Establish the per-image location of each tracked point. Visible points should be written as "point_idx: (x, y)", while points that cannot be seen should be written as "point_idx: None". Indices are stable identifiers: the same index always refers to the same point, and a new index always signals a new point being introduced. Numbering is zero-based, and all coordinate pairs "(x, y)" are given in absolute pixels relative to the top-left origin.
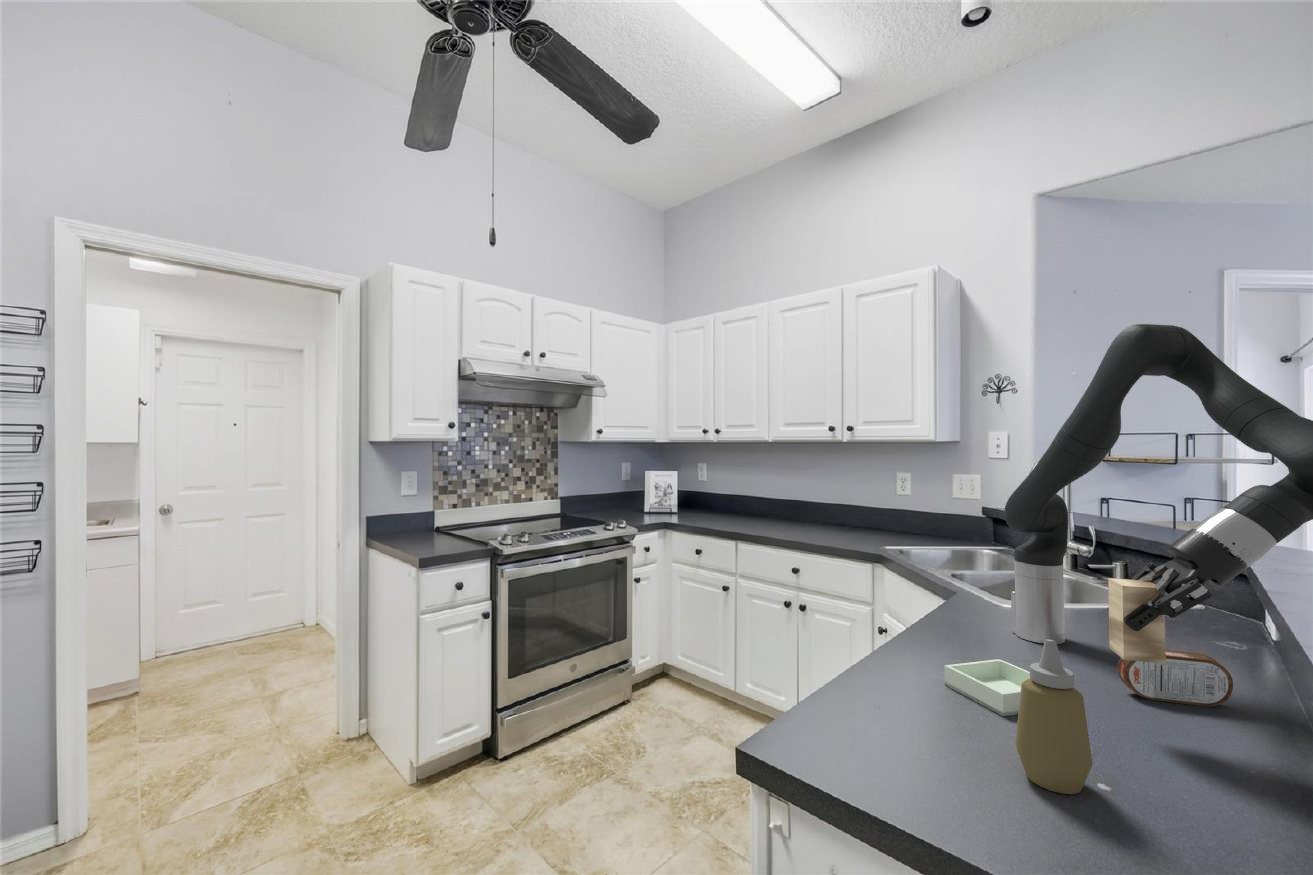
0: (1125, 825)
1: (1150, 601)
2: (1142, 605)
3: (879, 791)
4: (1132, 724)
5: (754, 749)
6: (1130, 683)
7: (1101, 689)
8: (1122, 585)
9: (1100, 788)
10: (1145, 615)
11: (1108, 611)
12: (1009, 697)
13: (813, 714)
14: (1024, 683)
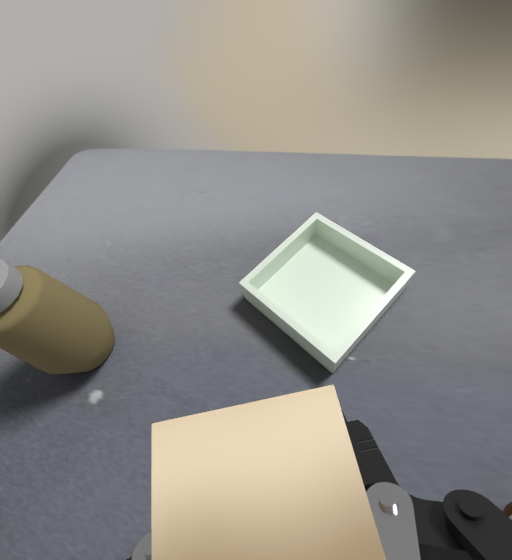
0: (22, 405)
1: (144, 555)
2: None
3: (41, 226)
4: None
5: (82, 151)
6: (506, 514)
7: (497, 454)
8: (156, 424)
9: (90, 392)
10: None
11: None
12: (248, 292)
13: (158, 159)
14: (16, 267)
